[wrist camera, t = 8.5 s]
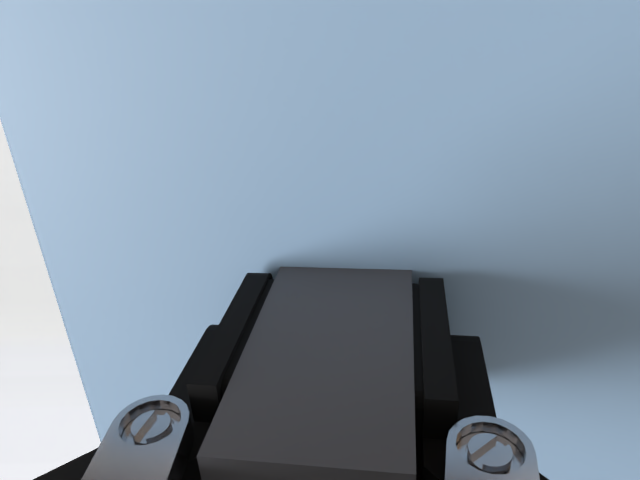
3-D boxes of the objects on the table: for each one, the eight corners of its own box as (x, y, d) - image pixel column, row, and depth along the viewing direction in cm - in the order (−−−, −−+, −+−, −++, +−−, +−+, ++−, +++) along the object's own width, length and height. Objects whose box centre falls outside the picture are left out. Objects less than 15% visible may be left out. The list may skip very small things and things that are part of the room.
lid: (778, -54, 9) (1397, -112, 3) (612, 531, 15) (729, 844, 10) (-10, -7, 11) (-423, 5, 6) (132, 486, 18) (6, 719, 12)
